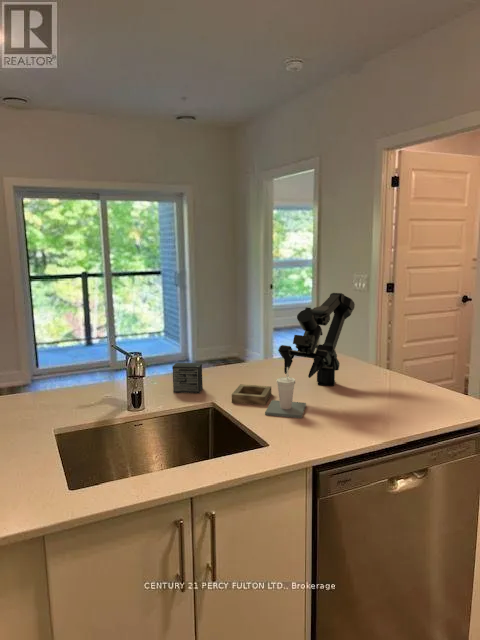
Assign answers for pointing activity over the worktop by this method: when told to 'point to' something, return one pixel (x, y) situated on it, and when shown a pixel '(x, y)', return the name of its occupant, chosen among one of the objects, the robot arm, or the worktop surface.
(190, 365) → the small box
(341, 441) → the worktop surface
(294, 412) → the coaster
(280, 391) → the smoothie
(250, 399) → the holder
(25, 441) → the worktop surface
